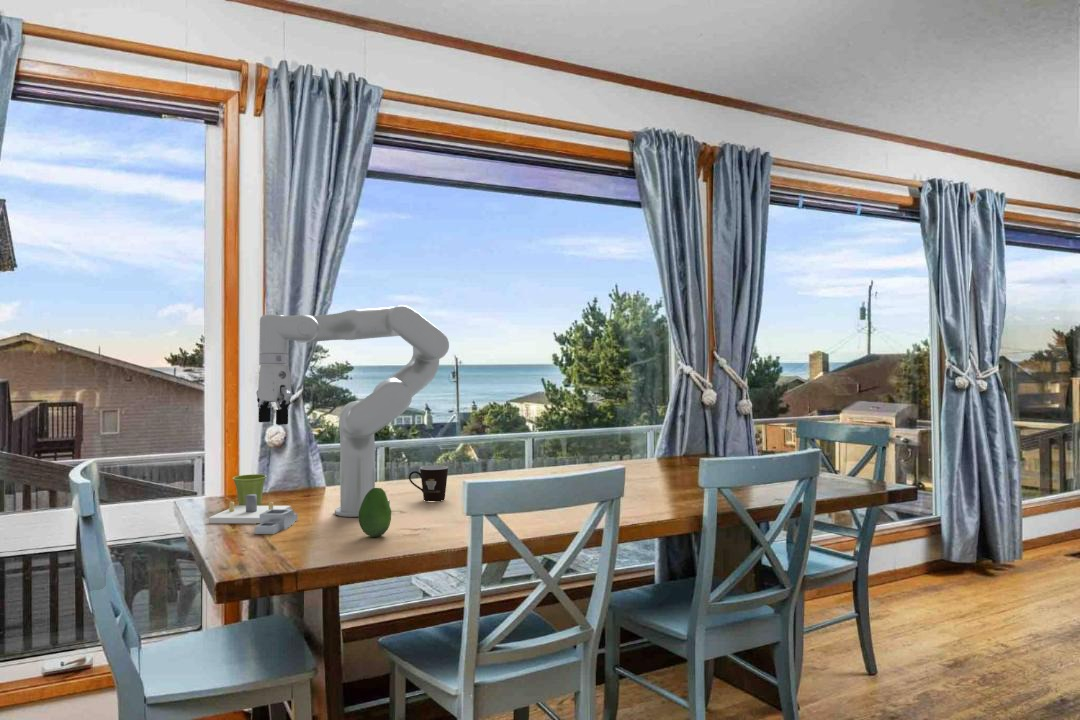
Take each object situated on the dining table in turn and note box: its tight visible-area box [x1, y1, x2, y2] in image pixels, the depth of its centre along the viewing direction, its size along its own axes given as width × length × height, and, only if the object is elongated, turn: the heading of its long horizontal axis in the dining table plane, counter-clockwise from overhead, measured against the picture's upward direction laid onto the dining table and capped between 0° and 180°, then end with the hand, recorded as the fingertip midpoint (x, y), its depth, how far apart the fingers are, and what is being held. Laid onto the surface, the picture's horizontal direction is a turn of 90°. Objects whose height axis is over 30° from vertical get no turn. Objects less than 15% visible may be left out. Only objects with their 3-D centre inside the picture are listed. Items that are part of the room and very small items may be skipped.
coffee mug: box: [408, 465, 449, 502], centre depth 227 cm, size 12×9×10 cm
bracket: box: [254, 508, 298, 535], centre depth 190 cm, size 16×6×4 cm, turn 178°
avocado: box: [358, 487, 392, 538], centre depth 180 cm, size 8×8×12 cm
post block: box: [208, 494, 292, 524], centre depth 202 cm, size 16×16×6 cm
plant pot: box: [232, 473, 267, 506], centre depth 217 cm, size 9×9×9 cm
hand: (273, 423), depth 198 cm, fingers open, 9 cm apart
